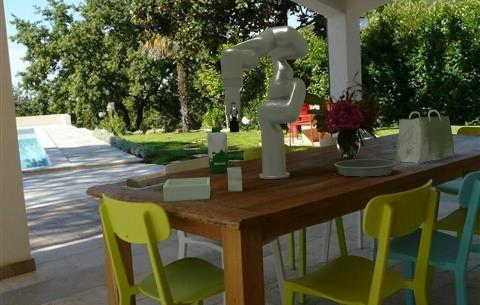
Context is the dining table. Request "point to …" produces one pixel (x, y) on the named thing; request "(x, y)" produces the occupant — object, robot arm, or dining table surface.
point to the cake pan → (365, 167)
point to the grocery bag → (424, 139)
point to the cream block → (234, 179)
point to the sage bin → (186, 189)
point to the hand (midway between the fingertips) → (234, 131)
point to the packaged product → (145, 182)
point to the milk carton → (217, 151)
